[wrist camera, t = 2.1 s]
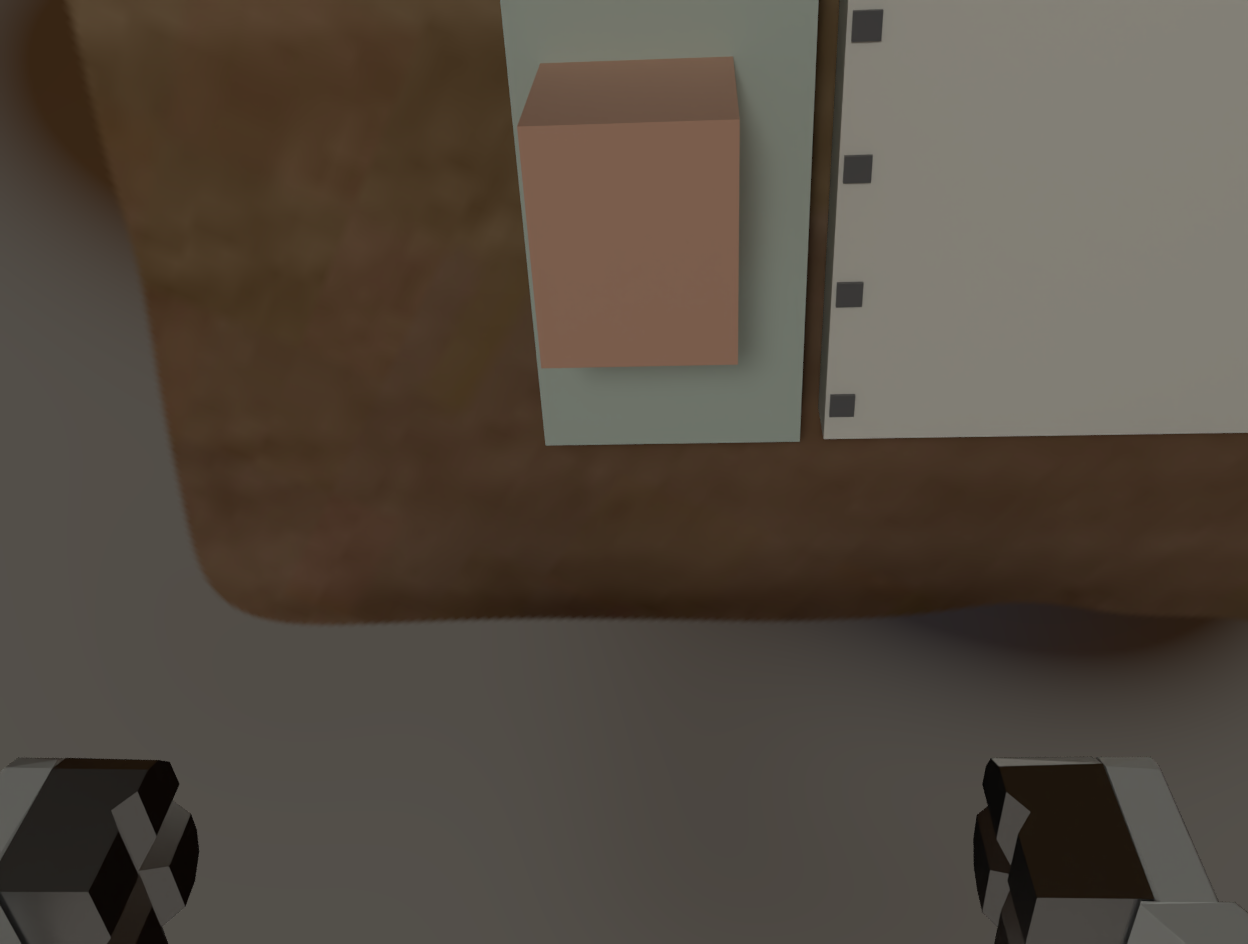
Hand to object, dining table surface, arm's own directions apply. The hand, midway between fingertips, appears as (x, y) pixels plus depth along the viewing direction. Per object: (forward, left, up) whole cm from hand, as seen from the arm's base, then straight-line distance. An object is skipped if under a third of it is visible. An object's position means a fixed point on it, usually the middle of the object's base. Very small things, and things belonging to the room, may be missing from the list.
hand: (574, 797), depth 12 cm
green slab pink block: (-1, 0, -19) cm, 19 cm away
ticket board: (-11, 0, -19) cm, 22 cm away
